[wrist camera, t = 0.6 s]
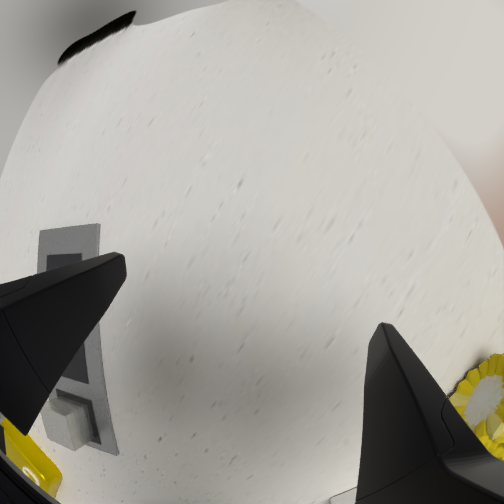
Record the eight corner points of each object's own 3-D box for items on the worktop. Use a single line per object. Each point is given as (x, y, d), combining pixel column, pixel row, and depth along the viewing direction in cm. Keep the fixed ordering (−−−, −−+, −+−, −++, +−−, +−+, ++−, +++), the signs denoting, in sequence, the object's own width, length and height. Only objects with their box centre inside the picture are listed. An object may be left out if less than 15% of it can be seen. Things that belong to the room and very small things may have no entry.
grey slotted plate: (118, 453, 23) (116, 456, 23) (59, 430, 24) (56, 432, 24) (100, 224, 26) (96, 223, 26) (42, 231, 28) (39, 230, 27)
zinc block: (94, 438, 23) (74, 451, 19) (67, 427, 24) (47, 438, 20) (87, 405, 24) (65, 416, 20) (60, 395, 24) (38, 404, 20)
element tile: (6, 402, 27) (-14, 408, 22) (66, 472, 24) (47, 485, 19) (2, 444, 26) (-14, 450, 22) (54, 502, 24) (39, 512, 19)
